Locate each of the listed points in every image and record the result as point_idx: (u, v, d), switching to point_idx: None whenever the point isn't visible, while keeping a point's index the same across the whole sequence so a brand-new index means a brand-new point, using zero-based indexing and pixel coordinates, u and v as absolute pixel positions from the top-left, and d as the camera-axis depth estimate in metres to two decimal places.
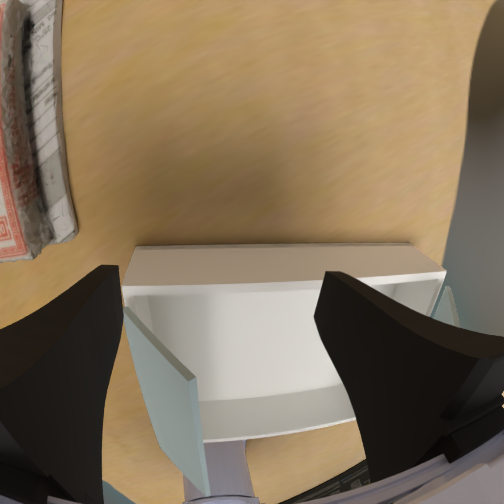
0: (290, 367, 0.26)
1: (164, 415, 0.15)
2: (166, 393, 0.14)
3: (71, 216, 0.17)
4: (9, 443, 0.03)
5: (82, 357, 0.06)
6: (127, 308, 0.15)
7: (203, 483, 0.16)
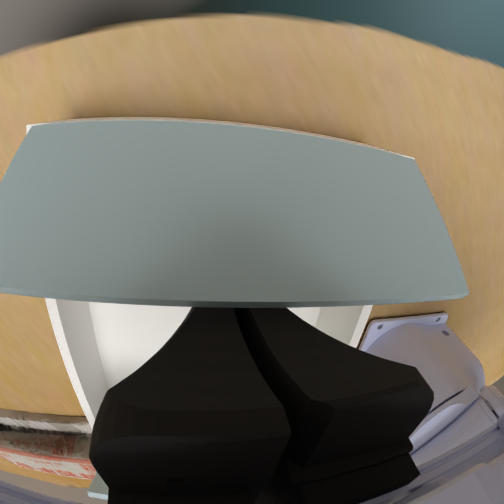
0: None
1: None
2: None
3: (82, 423, 0.22)
4: (260, 466, 0.03)
5: None
6: None
7: None
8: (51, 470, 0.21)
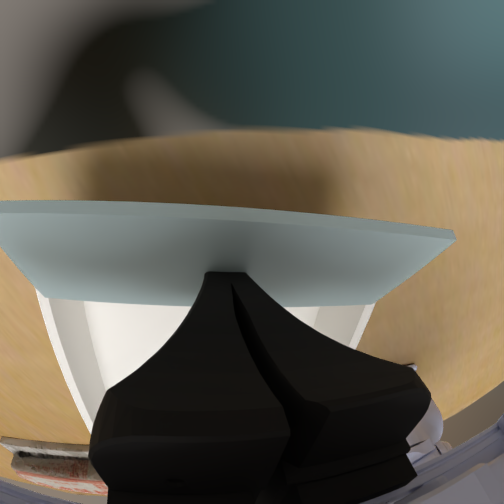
0: None
1: None
2: None
3: None
4: (259, 466, 0.03)
5: None
6: None
7: None
8: (69, 488, 0.24)
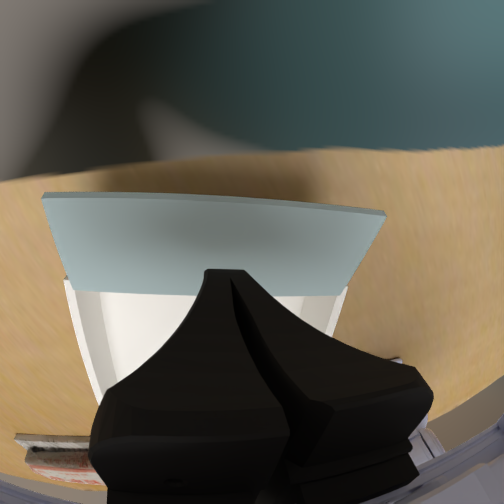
0: None
1: None
2: None
3: None
4: (259, 466, 0.03)
5: None
6: None
7: None
8: (79, 480, 0.27)
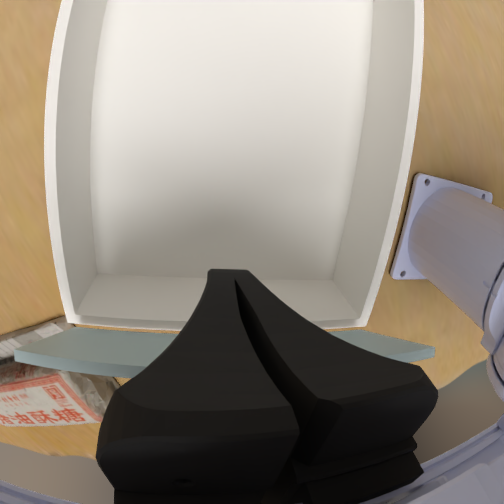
0: (301, 91, 0.15)
1: None
2: None
3: (46, 325, 0.18)
4: (268, 465, 0.03)
5: None
6: (74, 329, 0.13)
7: None
8: (25, 415, 0.18)
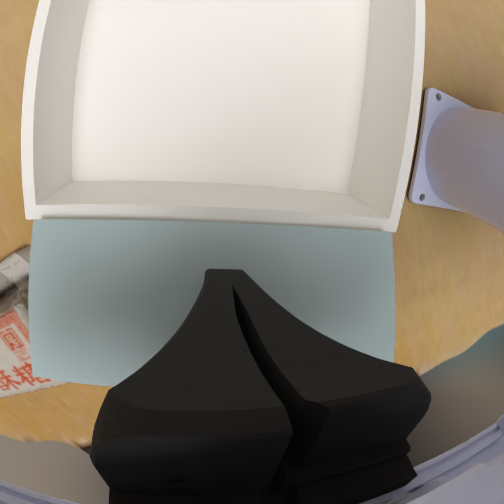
0: None
1: None
2: None
3: (8, 257, 0.14)
4: (261, 466, 0.03)
5: None
6: (34, 224, 0.10)
7: None
8: None
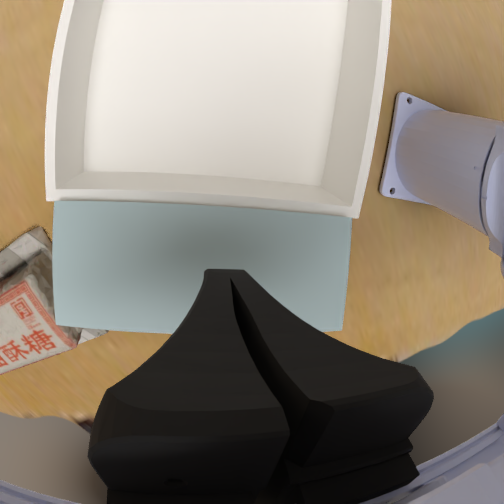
0: (287, 9, 0.14)
1: None
2: None
3: (19, 237, 0.17)
4: (259, 466, 0.03)
5: None
6: (55, 204, 0.12)
7: None
8: None
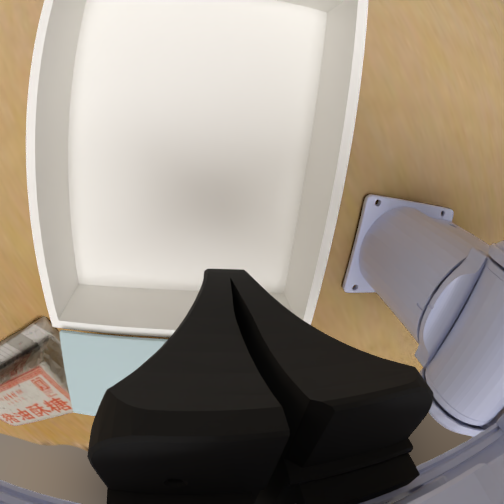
0: (248, 126, 0.17)
1: None
2: None
3: (29, 326, 0.20)
4: (259, 466, 0.03)
5: None
6: (60, 334, 0.16)
7: None
8: (25, 411, 0.21)
